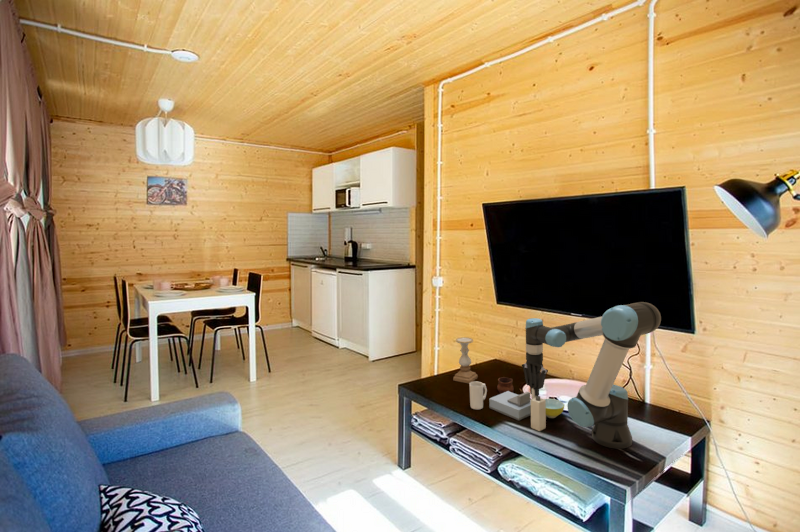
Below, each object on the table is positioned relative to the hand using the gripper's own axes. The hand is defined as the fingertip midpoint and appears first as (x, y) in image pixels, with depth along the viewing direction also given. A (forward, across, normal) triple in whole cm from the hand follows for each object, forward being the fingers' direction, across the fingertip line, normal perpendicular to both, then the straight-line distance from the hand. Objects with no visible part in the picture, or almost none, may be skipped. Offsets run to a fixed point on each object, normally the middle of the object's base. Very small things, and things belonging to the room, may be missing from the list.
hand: (534, 401), depth 204 cm
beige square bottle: (+9, -6, +6) cm, 12 cm away
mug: (+9, +27, +9) cm, 29 cm away
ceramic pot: (+9, +30, -15) cm, 35 cm away
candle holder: (+9, +58, -12) cm, 60 cm away
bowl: (+9, -3, -8) cm, 12 cm away
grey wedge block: (+3, +9, 0) cm, 10 cm away
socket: (+9, +13, 0) cm, 15 cm away
